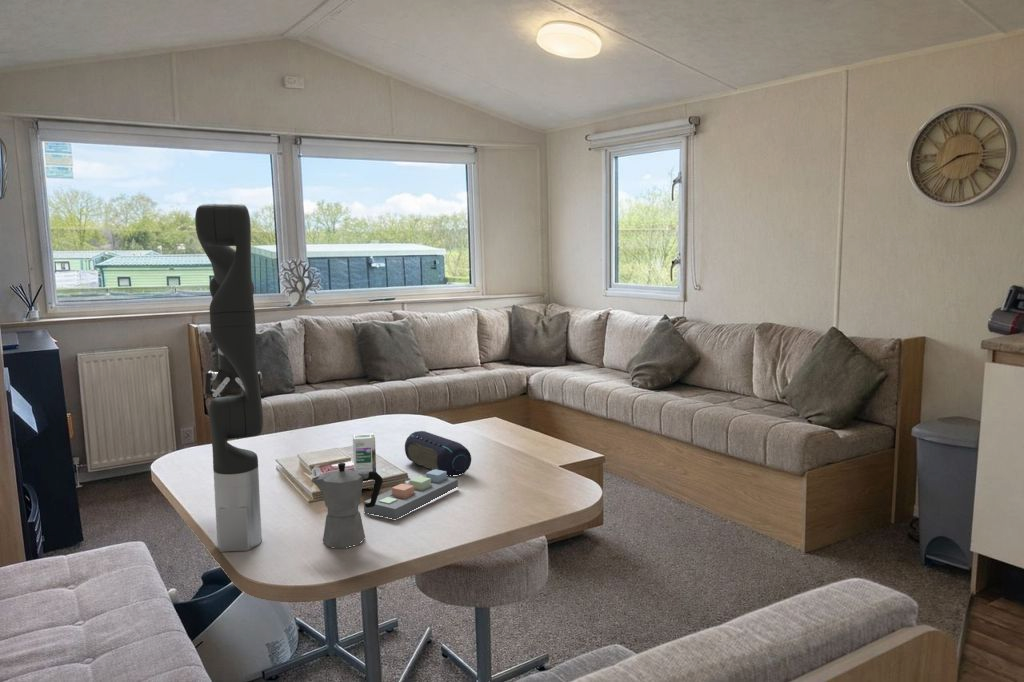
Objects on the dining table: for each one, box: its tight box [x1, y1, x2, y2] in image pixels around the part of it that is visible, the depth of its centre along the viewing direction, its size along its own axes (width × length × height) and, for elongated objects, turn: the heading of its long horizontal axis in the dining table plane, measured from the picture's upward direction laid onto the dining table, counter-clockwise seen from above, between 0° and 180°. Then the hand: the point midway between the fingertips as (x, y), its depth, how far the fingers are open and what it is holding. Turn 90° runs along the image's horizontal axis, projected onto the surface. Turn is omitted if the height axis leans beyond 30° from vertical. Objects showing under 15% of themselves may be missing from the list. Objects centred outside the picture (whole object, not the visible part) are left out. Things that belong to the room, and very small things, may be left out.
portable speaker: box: [404, 430, 472, 477], centre depth 213 cm, size 25×10×10 cm, turn 41°
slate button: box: [425, 469, 448, 483], centre depth 194 cm, size 4×4×4 cm
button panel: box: [363, 474, 459, 519], centre depth 186 cm, size 26×10×3 cm, turn 149°
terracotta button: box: [391, 483, 414, 499], centre depth 182 cm, size 4×4×4 cm
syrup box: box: [352, 432, 377, 472], centre depth 196 cm, size 6×6×14 cm
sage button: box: [408, 475, 431, 491], centre depth 188 cm, size 4×4×4 cm
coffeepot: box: [311, 462, 384, 549], centre depth 160 cm, size 15×9×18 cm, turn 101°
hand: (235, 409), depth 191 cm, fingers open, 8 cm apart
